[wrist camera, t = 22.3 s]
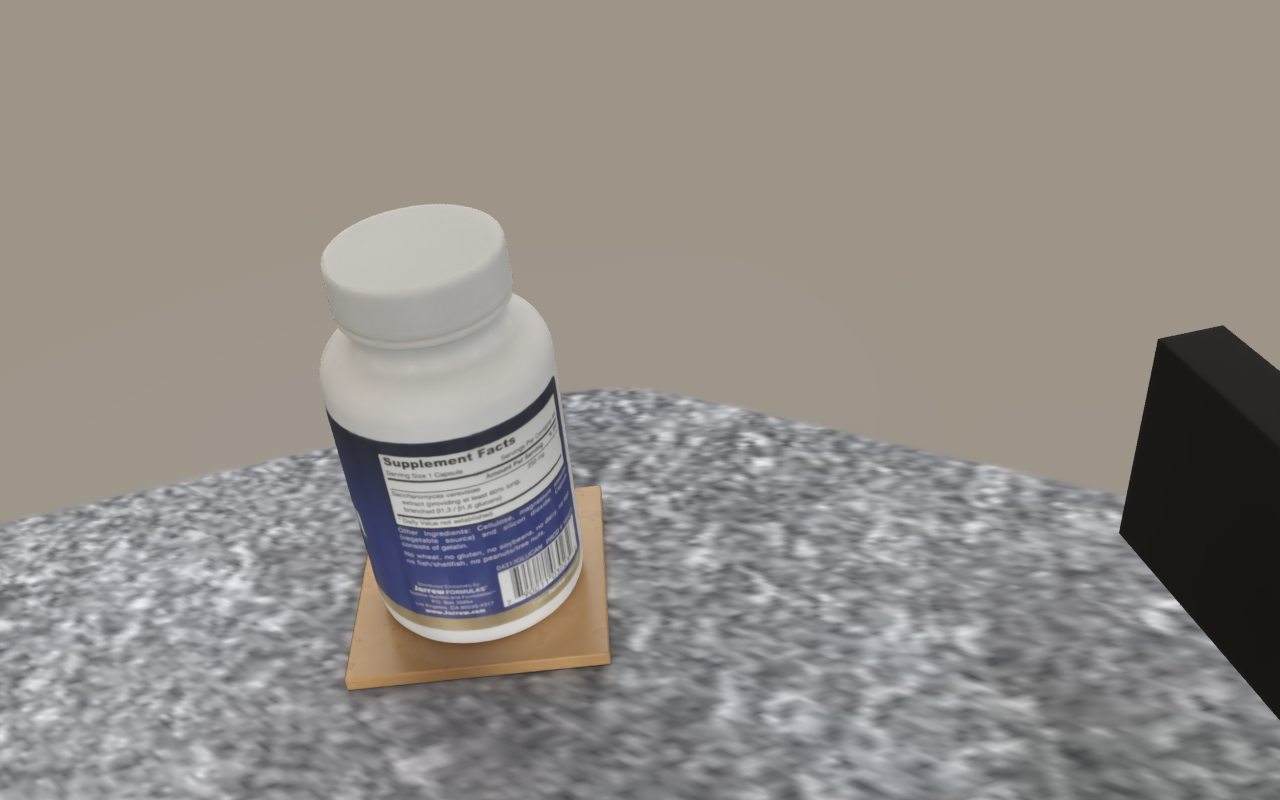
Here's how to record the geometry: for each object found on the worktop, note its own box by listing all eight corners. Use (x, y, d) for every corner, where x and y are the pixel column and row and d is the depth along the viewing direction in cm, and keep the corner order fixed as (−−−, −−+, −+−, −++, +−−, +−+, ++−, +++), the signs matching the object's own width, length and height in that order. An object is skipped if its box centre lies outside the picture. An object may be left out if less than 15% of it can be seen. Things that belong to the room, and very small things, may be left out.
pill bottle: (387, 519, 33) (302, 203, 28) (578, 495, 34) (533, 175, 28) (371, 665, 29) (267, 324, 23) (592, 636, 29) (542, 290, 24)
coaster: (601, 495, 34) (600, 484, 34) (611, 664, 29) (609, 653, 29) (378, 517, 34) (375, 506, 34) (347, 690, 29) (343, 679, 29)
